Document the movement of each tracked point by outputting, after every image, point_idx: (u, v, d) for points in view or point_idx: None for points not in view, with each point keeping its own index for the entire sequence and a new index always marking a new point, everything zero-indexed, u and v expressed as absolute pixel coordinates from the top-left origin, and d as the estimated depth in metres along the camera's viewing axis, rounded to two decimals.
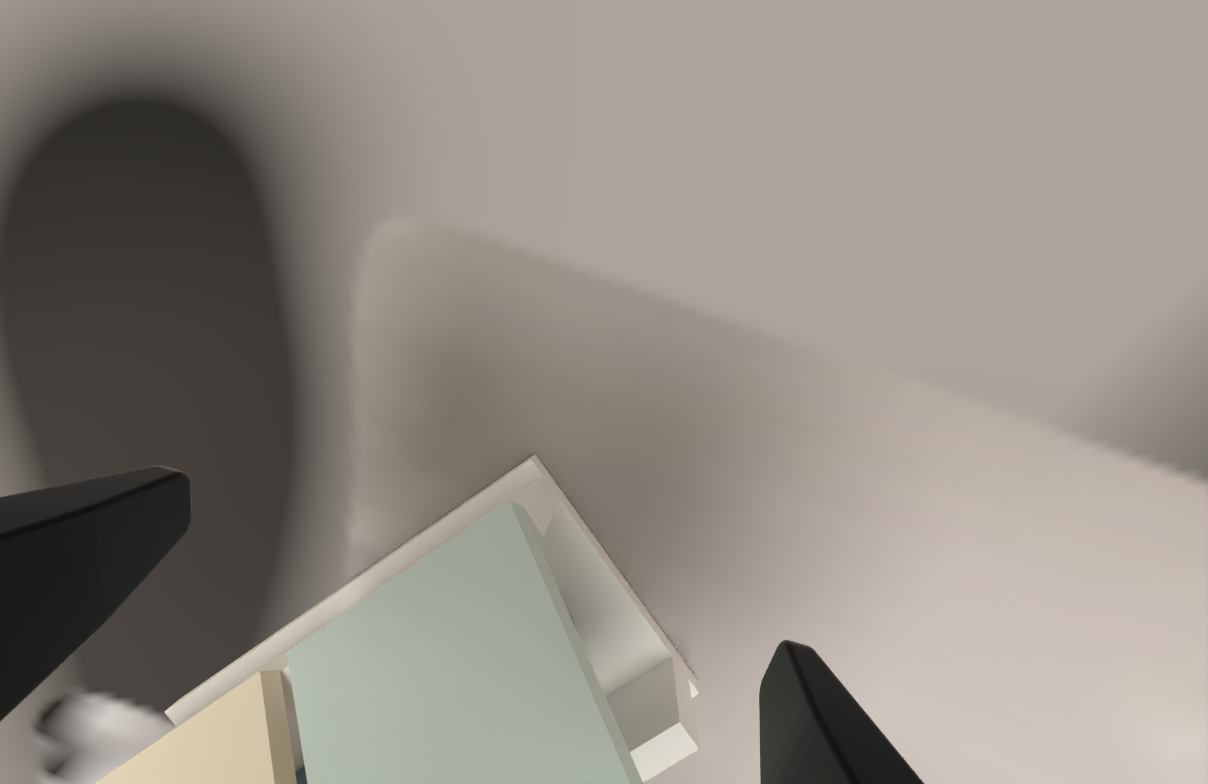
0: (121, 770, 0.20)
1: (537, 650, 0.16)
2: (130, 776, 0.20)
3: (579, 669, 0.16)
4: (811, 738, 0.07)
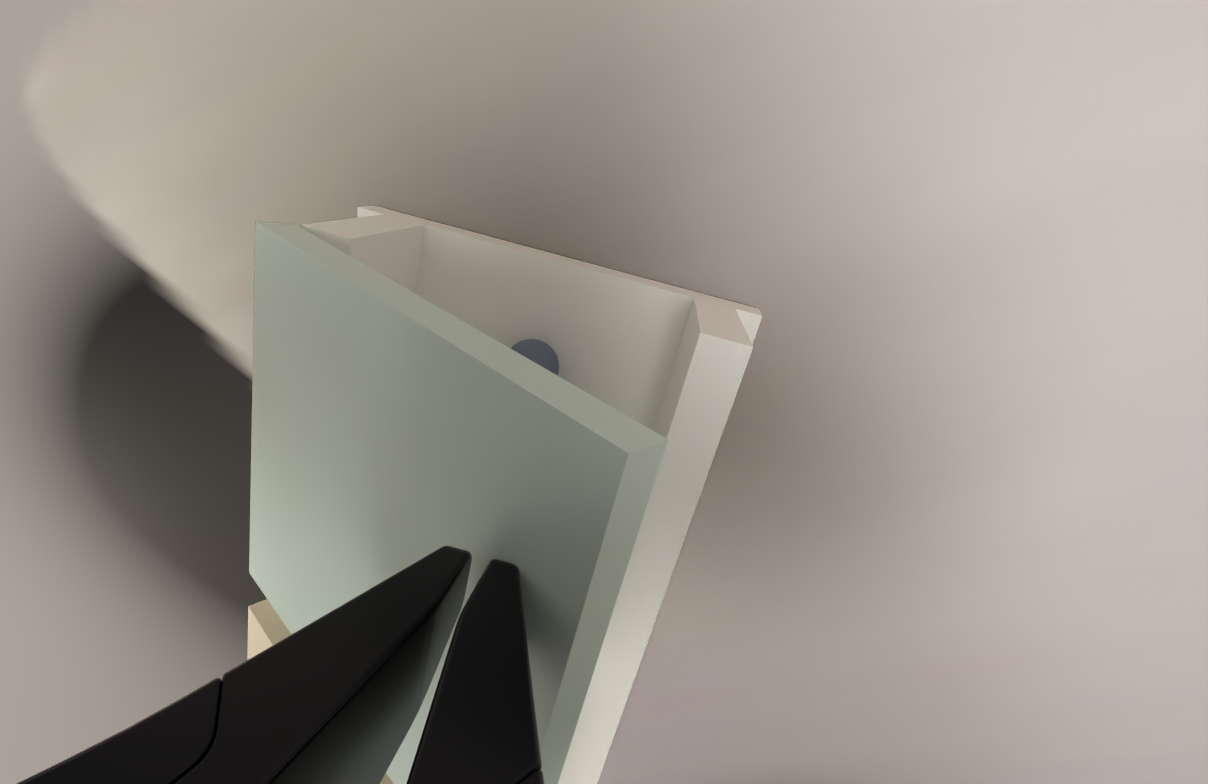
0: None
1: (357, 341, 0.10)
2: None
3: (394, 311, 0.09)
4: None
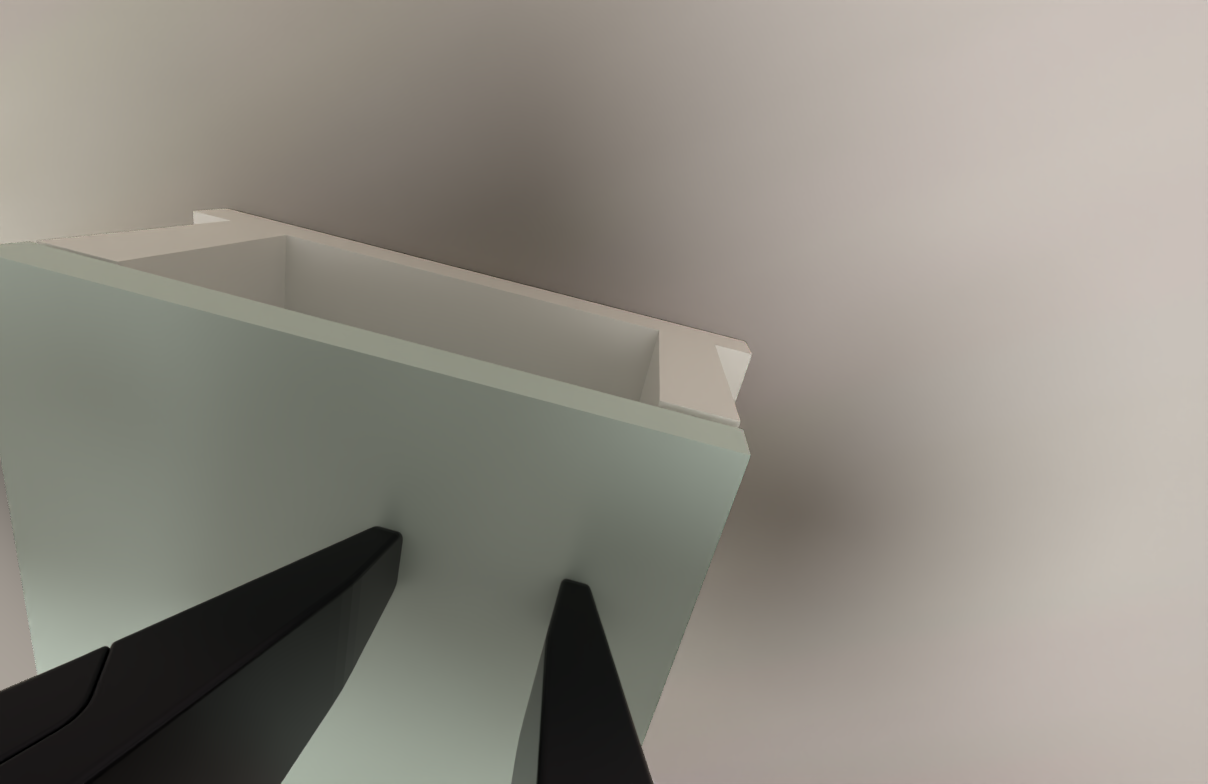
0: None
1: (294, 403, 0.08)
2: None
3: (373, 359, 0.07)
4: (541, 662, 0.07)
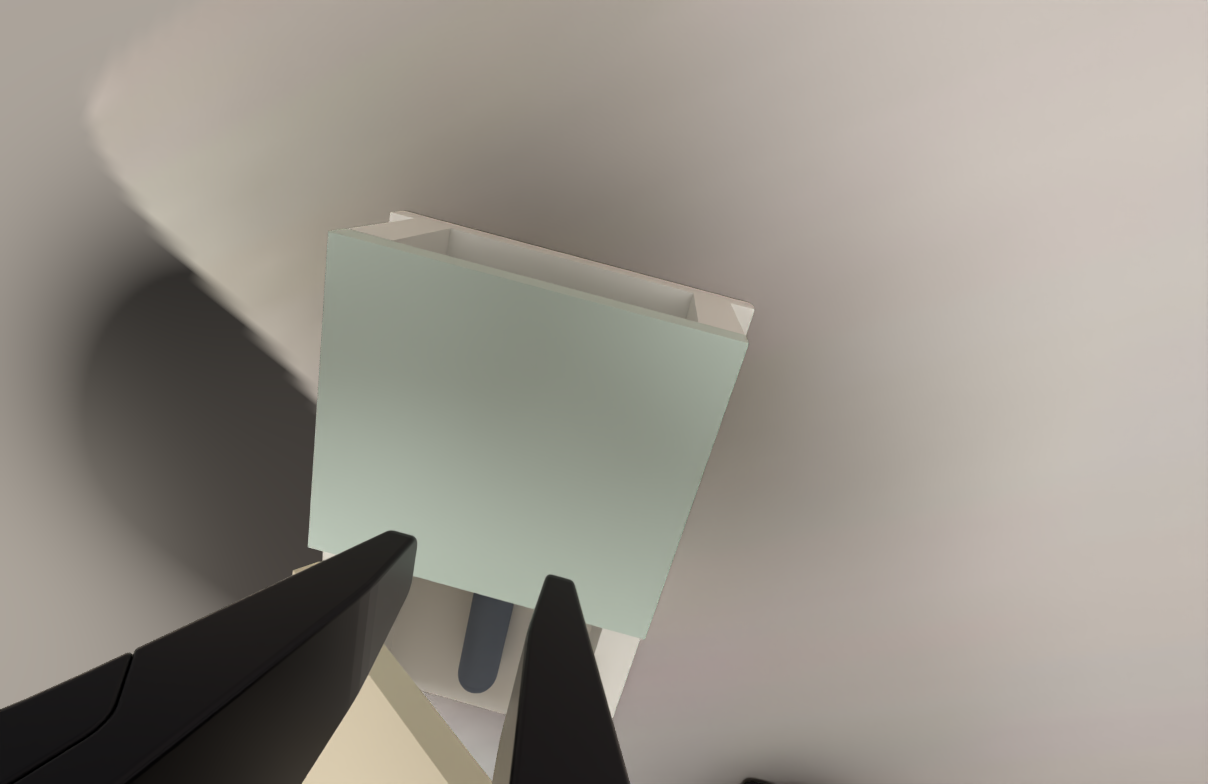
0: None
1: (500, 317, 0.14)
2: None
3: (547, 292, 0.14)
4: (522, 656, 0.07)
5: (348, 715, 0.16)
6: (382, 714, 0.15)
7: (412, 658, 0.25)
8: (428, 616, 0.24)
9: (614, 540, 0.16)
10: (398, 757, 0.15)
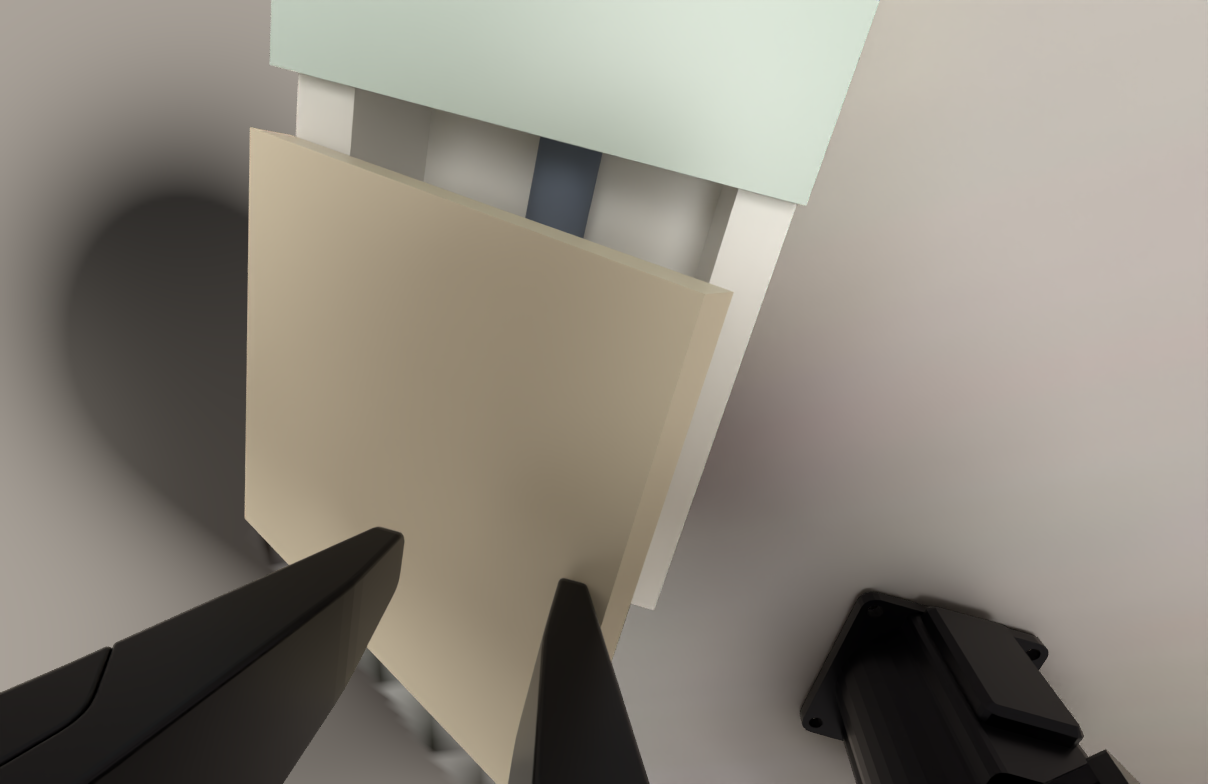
0: (249, 419, 0.14)
1: None
2: (258, 410, 0.13)
3: None
4: (538, 661, 0.07)
5: (354, 305, 0.10)
6: (421, 234, 0.09)
7: None
8: None
9: None
10: (454, 291, 0.09)
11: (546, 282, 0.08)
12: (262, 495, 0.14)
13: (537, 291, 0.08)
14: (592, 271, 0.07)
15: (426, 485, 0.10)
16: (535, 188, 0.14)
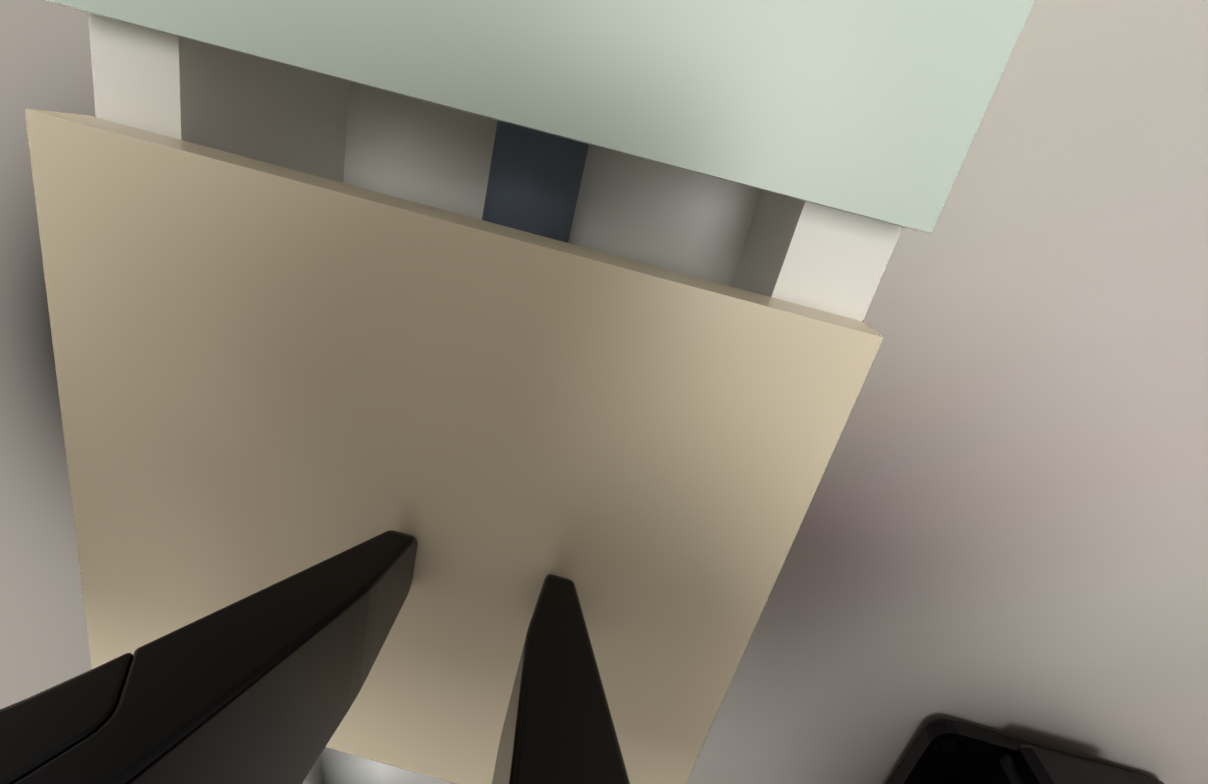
0: (87, 550, 0.09)
1: None
2: (109, 535, 0.09)
3: None
4: (522, 656, 0.07)
5: (332, 375, 0.08)
6: (467, 282, 0.07)
7: None
8: None
9: None
10: (531, 350, 0.07)
11: (682, 334, 0.07)
12: (134, 644, 0.10)
13: (667, 343, 0.07)
14: (747, 320, 0.07)
15: (487, 570, 0.08)
16: (490, 197, 0.10)
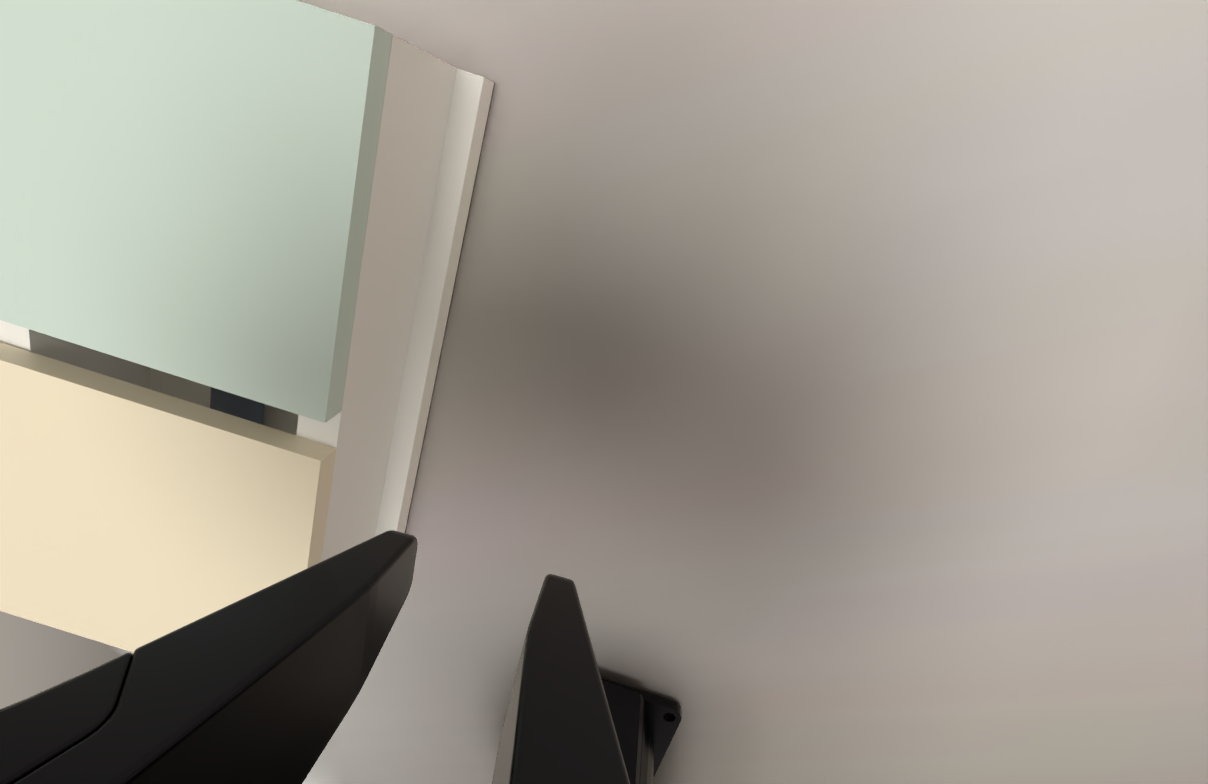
0: None
1: None
2: None
3: None
4: (522, 657, 0.07)
5: (96, 461, 0.16)
6: (149, 427, 0.16)
7: None
8: None
9: (272, 292, 0.14)
10: (180, 456, 0.16)
11: (241, 454, 0.16)
12: (10, 587, 0.19)
13: (236, 457, 0.16)
14: (266, 450, 0.16)
15: (179, 554, 0.17)
16: None
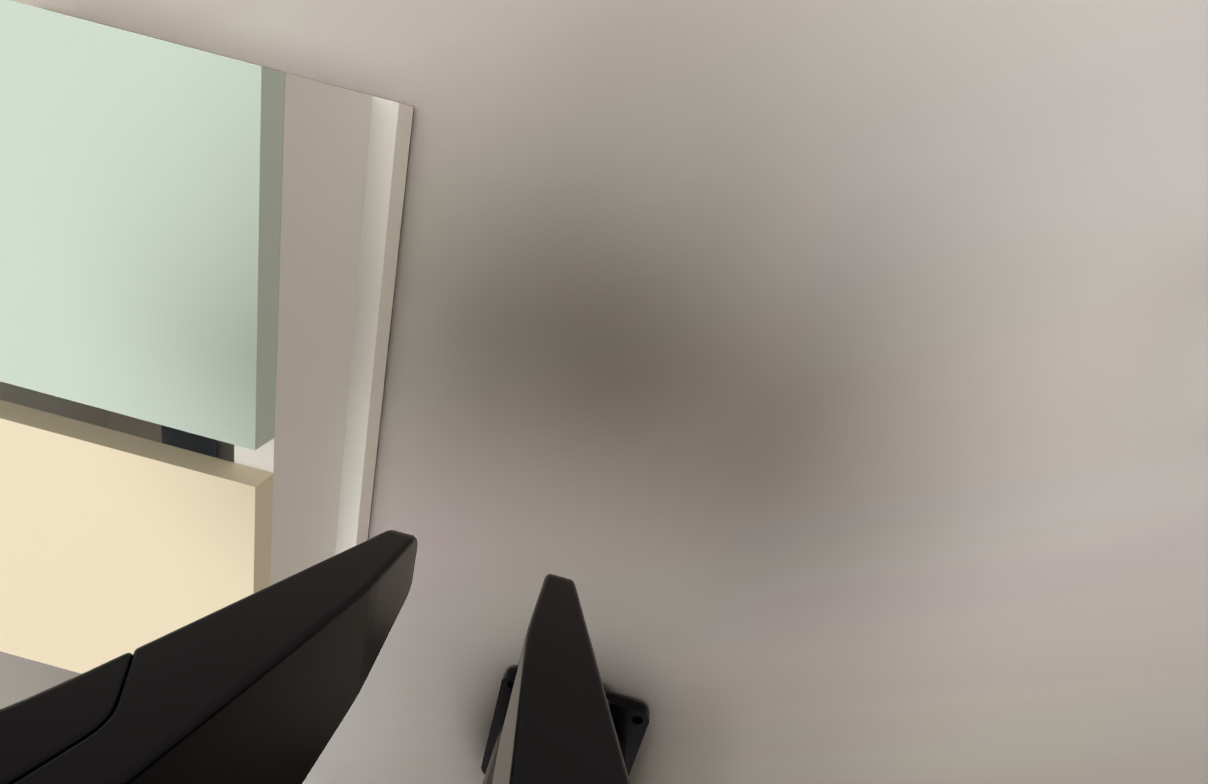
0: None
1: (0, 46, 0.13)
2: None
3: (39, 11, 0.12)
4: (522, 657, 0.07)
5: (44, 496, 0.17)
6: (90, 461, 0.16)
7: None
8: None
9: (192, 327, 0.14)
10: (122, 488, 0.17)
11: (179, 483, 0.16)
12: None
13: (175, 487, 0.16)
14: (202, 479, 0.16)
15: (131, 582, 0.18)
16: None
